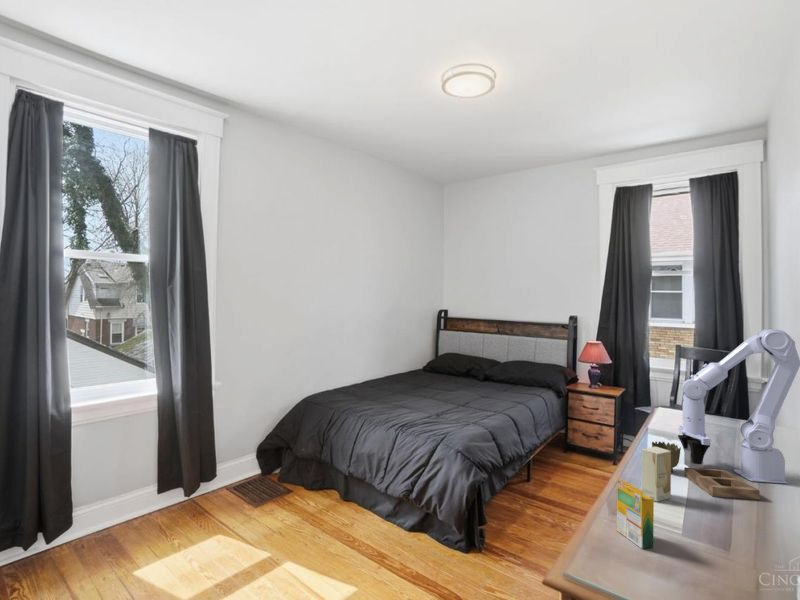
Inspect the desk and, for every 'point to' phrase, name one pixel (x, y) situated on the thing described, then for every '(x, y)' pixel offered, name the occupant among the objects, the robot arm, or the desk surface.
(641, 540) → the crayon box
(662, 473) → the skincare box
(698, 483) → the socket board
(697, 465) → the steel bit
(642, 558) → the desk surface
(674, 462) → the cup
